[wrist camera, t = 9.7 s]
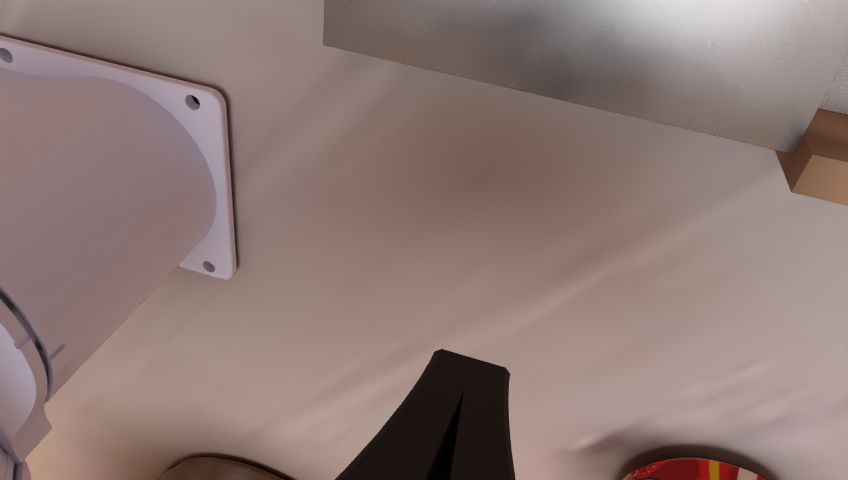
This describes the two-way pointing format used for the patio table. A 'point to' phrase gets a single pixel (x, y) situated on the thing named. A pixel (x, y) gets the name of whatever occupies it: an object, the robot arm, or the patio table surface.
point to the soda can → (691, 470)
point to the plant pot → (215, 470)
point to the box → (820, 159)
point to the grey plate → (624, 54)
